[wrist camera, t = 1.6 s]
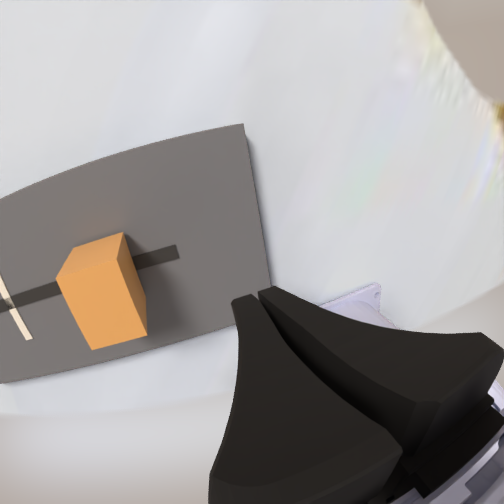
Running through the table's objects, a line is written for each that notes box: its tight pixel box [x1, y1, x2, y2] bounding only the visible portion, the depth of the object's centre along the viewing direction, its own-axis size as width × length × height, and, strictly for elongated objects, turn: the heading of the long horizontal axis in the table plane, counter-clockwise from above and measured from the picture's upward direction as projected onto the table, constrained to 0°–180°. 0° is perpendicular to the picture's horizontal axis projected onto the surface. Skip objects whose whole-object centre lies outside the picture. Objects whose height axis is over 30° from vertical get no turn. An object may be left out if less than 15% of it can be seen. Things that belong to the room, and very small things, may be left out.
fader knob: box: [56, 232, 147, 350], centre depth 14 cm, size 4×3×4 cm
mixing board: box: [0, 124, 271, 384], centre depth 16 cm, size 12×24×2 cm, turn 100°
